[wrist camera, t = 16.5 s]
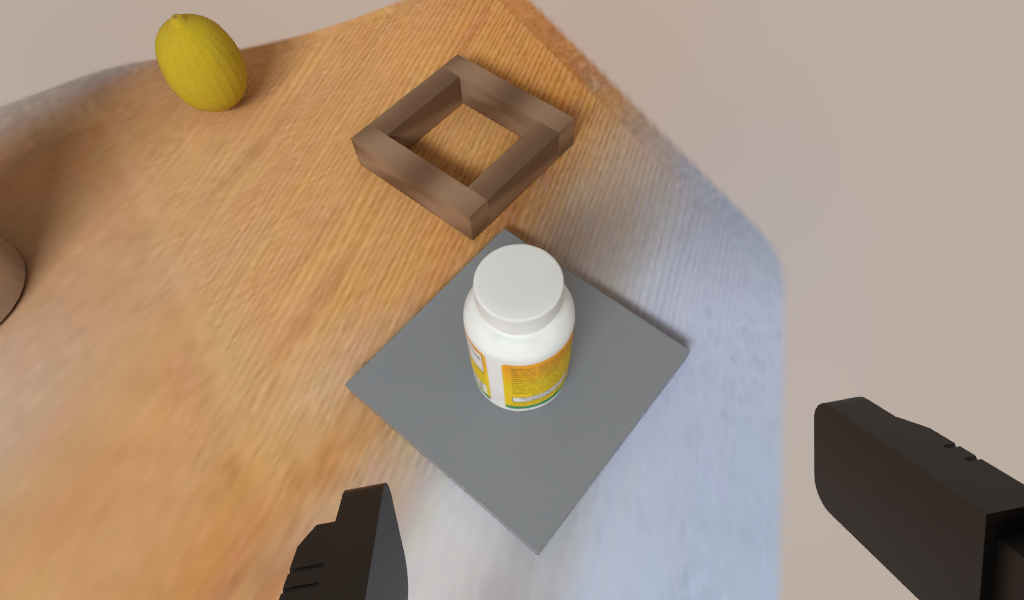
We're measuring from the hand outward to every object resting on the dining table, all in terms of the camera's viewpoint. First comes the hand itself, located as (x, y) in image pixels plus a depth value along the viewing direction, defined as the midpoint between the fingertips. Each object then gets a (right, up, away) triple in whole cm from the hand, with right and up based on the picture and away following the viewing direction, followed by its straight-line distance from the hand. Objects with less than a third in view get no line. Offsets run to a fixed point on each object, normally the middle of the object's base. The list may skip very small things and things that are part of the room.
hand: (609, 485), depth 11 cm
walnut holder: (-5, +14, +33) cm, 37 cm away
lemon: (-24, +18, +37) cm, 48 cm away
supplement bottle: (-1, -1, +24) cm, 24 cm away
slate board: (-1, -1, +25) cm, 25 cm away
